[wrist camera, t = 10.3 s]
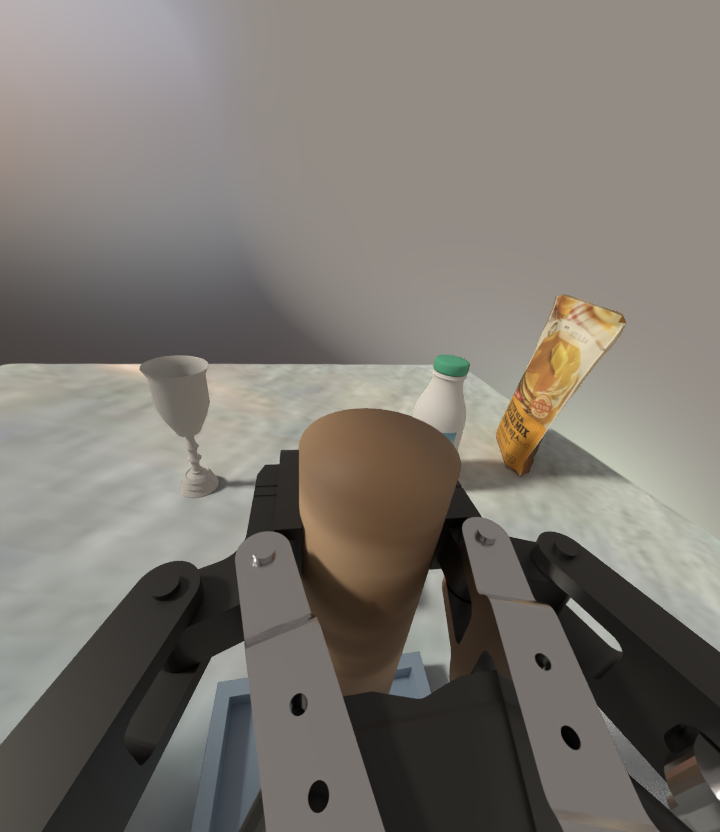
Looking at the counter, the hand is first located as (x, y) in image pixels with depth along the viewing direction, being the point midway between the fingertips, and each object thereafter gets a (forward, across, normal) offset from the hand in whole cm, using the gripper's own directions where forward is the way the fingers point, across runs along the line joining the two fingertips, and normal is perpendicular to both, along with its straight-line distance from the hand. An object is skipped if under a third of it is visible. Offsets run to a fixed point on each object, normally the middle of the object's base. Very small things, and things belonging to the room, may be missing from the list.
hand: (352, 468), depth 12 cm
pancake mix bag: (+34, -39, +25) cm, 57 cm away
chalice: (+28, +16, +25) cm, 41 cm away
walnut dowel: (-3, 0, +12) cm, 12 cm away
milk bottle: (+28, -18, +25) cm, 41 cm away
